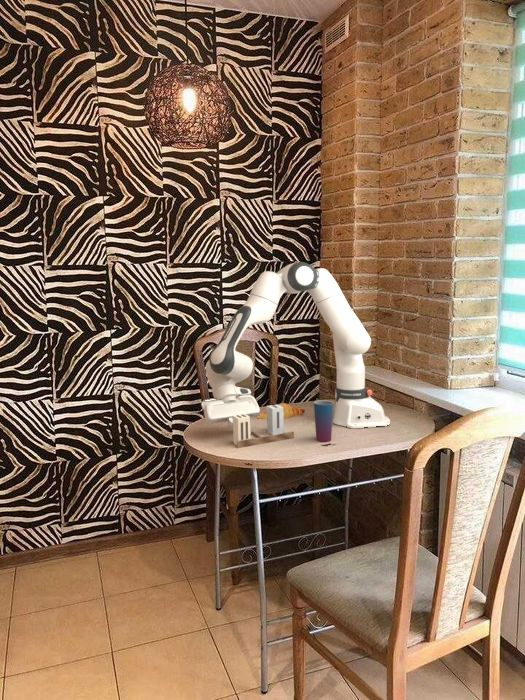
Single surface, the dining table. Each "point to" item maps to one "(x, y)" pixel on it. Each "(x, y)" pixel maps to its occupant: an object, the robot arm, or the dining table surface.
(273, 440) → the rail board
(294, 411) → the croissant
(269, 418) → the key one
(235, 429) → the key two
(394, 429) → the dining table surface
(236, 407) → the robot arm
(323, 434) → the cup
